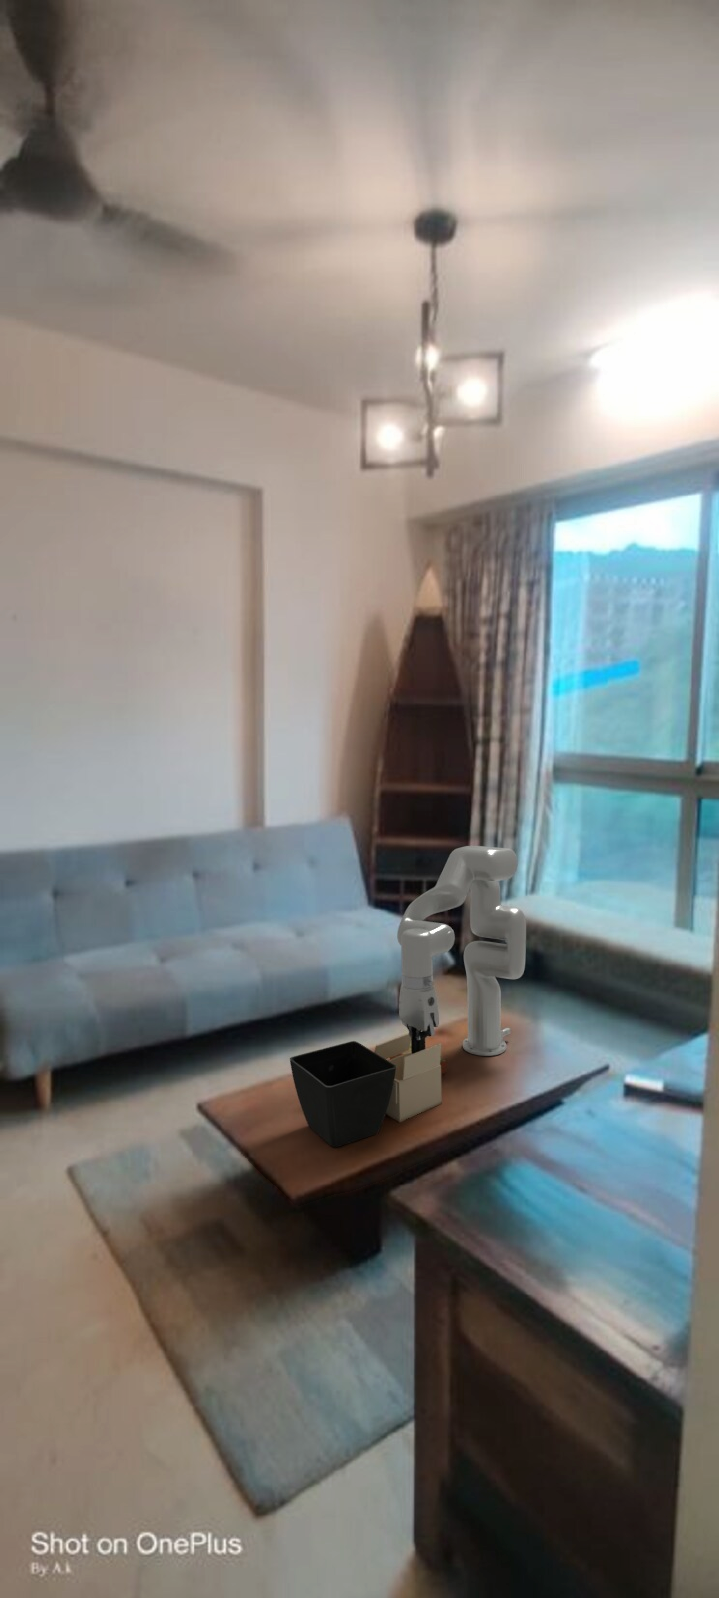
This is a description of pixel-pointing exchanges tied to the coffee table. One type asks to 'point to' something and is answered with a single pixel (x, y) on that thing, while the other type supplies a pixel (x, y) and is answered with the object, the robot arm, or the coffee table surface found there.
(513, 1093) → the coffee table surface
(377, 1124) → the flower pot
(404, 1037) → the far flap
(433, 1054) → the near flap
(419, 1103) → the shipping box
